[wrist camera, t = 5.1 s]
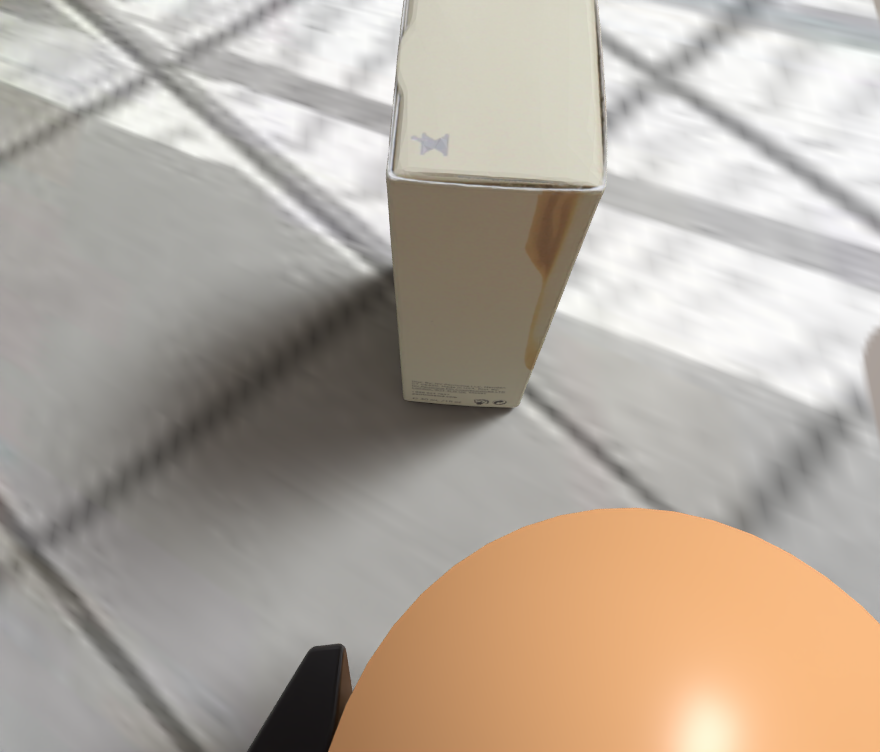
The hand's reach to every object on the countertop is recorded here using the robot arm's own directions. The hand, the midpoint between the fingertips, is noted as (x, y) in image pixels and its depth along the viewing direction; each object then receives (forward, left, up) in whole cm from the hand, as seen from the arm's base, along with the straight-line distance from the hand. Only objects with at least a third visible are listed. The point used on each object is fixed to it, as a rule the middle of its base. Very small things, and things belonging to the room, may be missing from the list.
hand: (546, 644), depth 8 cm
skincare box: (+9, -6, -14) cm, 17 cm away
